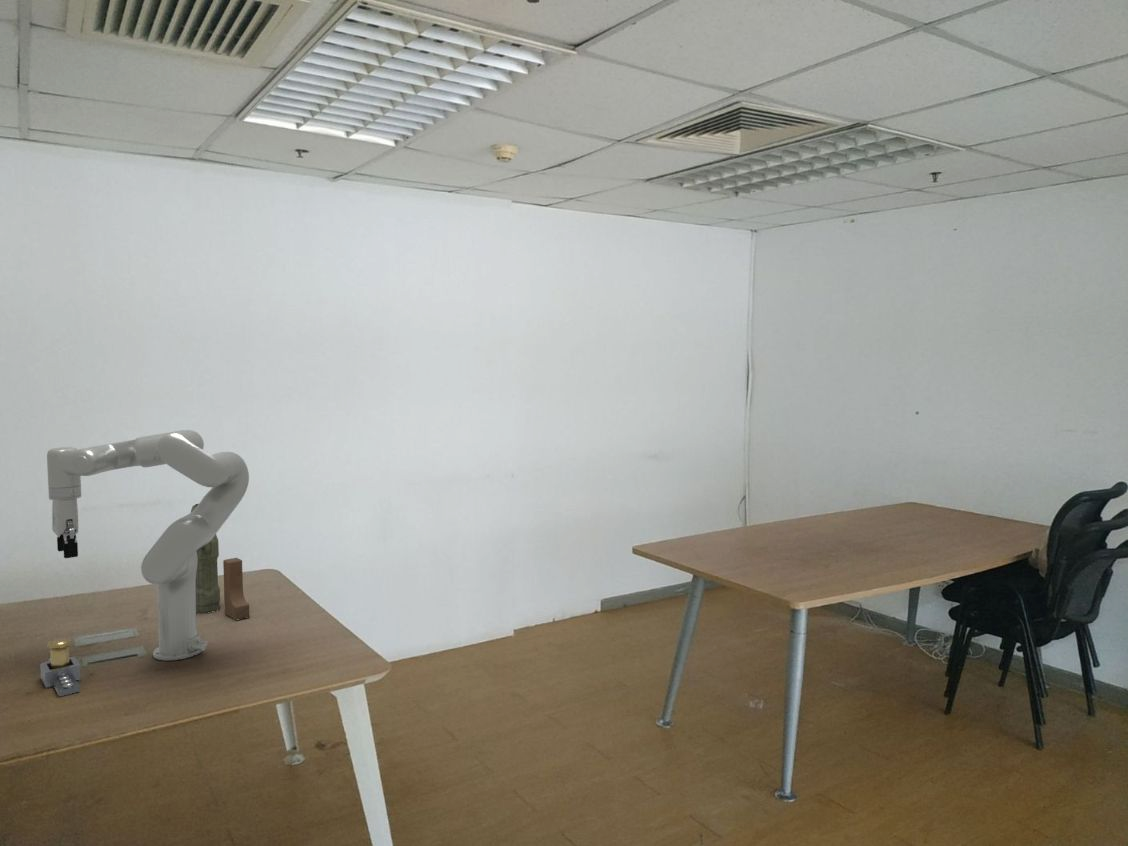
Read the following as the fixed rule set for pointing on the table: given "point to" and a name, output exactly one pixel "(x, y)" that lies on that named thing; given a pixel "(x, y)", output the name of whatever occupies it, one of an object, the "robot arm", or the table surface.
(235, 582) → the wooden block
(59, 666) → the pin
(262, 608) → the table surface
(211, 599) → the thermos
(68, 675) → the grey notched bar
